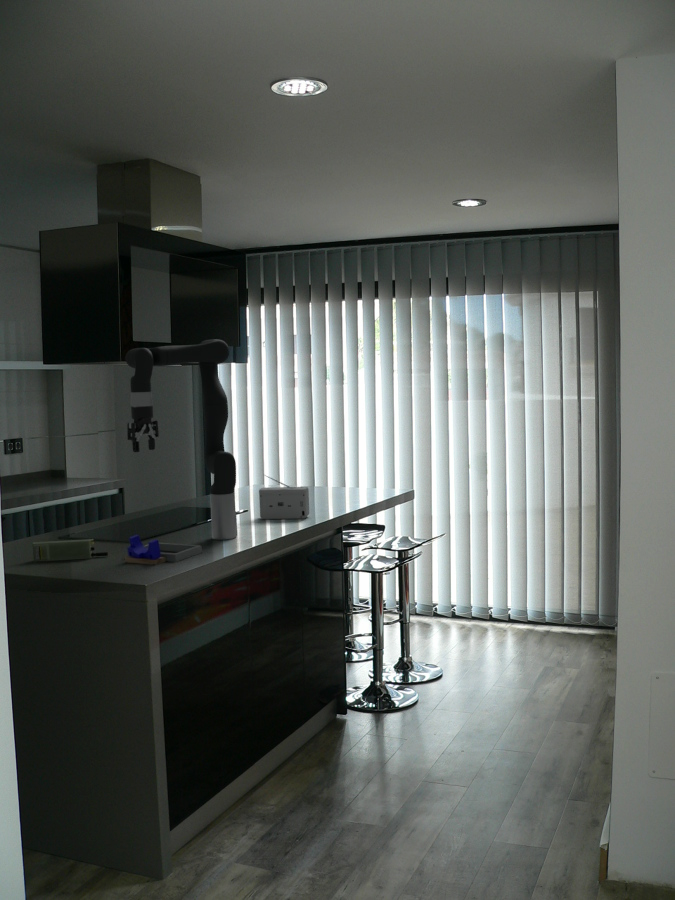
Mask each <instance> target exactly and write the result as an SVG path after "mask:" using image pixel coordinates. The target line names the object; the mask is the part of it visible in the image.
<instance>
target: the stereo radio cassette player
mask: <svg viewBox="0 0 675 900" xmlns="http://www.w3.org/2000/svg"><path fill="white" fill-rule="evenodd" d="M264 477H266V478H269V479H270V480H272V481H274V482H276V483H279V484H281V485H283V486H284V487H282V486H280V487H279V486H278V487H271V486H270V487H261V488H259V490H258V494H259V495H258V497H259V498H258V499H259V515H260V516H259V517H260V518H261V519H262V520H286V519H287V520H289V519H291V520H292V519H293V520H294V519H295V520H296V519H297V520H299V519H302V520H304V519H306V518H307V517H308V516H309V515H310V490H309V487H308V486H289V485H287V484H285V483H283V482H282V481H279V480H277V479H274V478H273V477H270V476H267V475H266V474H264Z"/></svg>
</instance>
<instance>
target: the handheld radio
mask: <svg viewBox="0 0 675 900" xmlns="http://www.w3.org/2000/svg"><path fill="white" fill-rule="evenodd" d="M94 543H95V542H94V538H92V539H91V538H88V539H73V540H72V539H70V540H55V541H54V540H51V541H35V542H32V555H33V562H49V561H65V560H66V561H67V560H85V559H92V558H93V557H107V556H108V555H109V553H108V551H103V552H93V551H95V549H96V548H95V547H94V546H93V545H95V544H94Z"/></svg>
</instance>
